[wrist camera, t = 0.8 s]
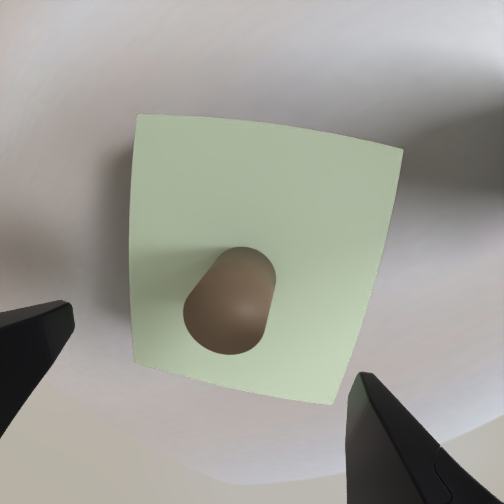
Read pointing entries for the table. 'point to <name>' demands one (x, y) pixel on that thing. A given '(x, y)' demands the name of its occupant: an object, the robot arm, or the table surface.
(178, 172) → the lid
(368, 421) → the robot arm
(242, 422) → the table surface
